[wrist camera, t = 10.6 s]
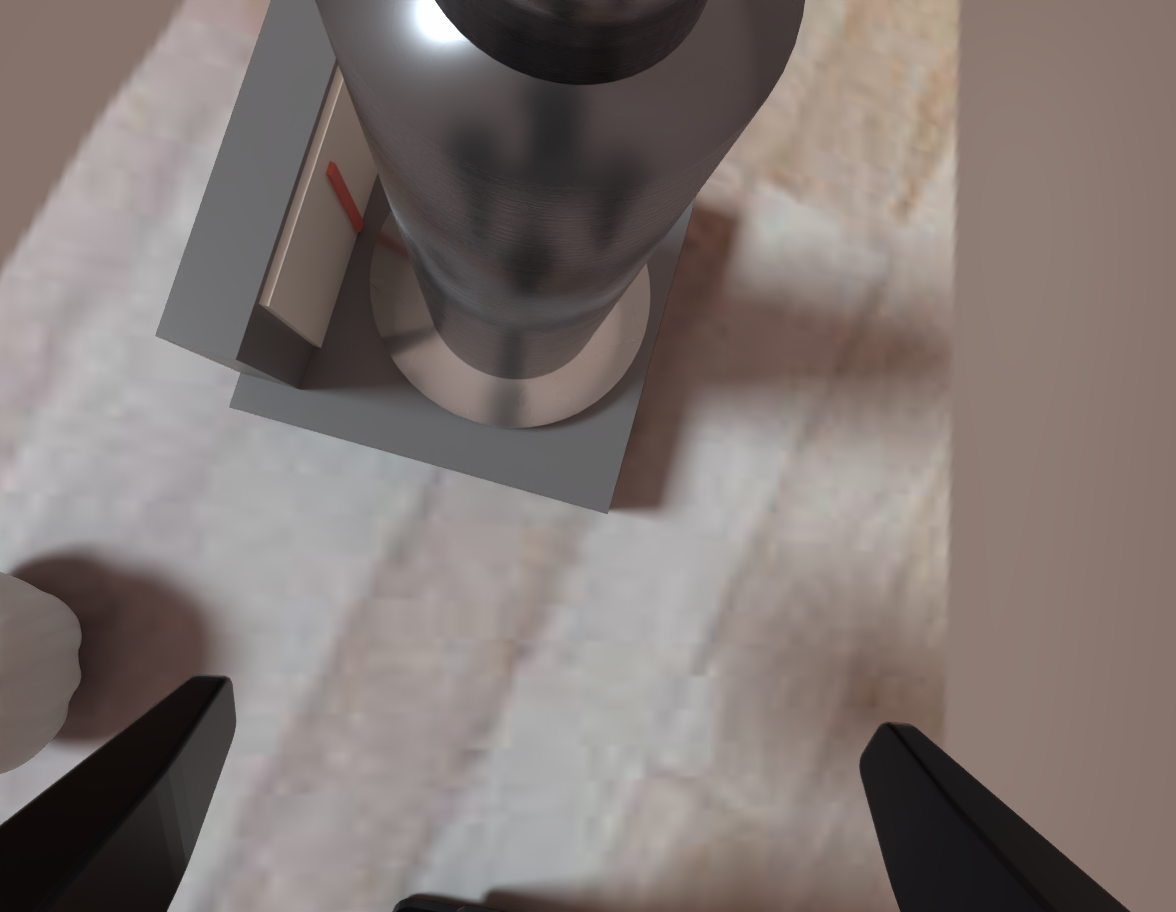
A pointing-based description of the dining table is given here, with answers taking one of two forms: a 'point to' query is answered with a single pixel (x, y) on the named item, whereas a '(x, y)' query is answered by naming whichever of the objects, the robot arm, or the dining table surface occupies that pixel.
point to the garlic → (34, 669)
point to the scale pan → (487, 395)
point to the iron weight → (547, 147)
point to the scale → (352, 288)
